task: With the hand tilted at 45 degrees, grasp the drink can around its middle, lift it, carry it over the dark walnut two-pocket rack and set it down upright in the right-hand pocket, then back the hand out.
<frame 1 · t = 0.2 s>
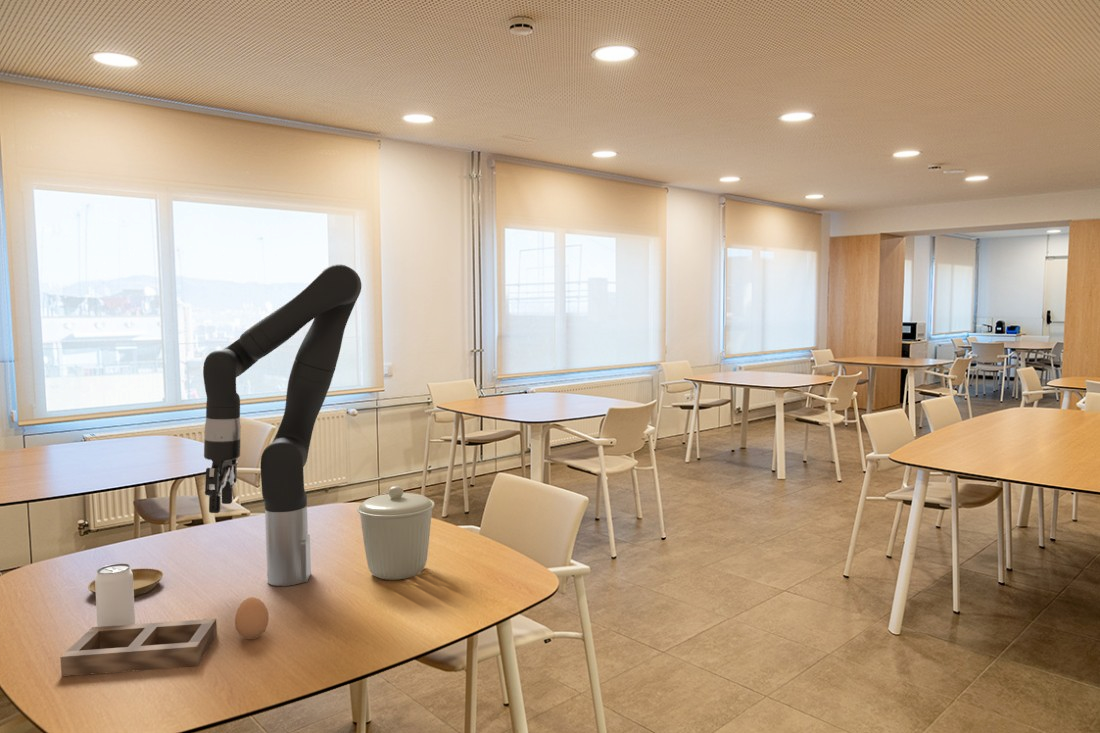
hand: (220, 507, 167), 18 cm above the table, tool pointing down, fingers open, 8 cm apart
canister: (397, 573, 175), on the table
can: (116, 628, 146), on the table
rack: (143, 655, 133), on the table
plant saucer: (127, 591, 165), on the table
egg: (252, 639, 140), on the table
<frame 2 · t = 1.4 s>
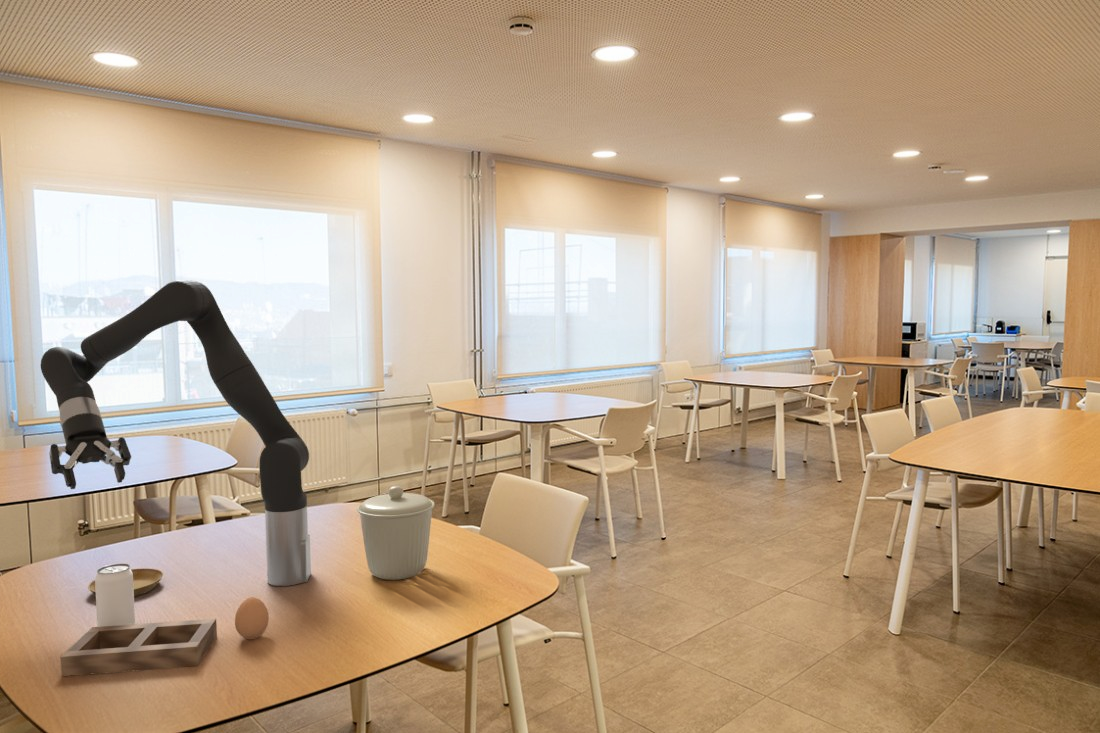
hand: (97, 483, 152), 27 cm above the table, tool tilted 45°, fingers open, 8 cm apart
nothing on the table moved.
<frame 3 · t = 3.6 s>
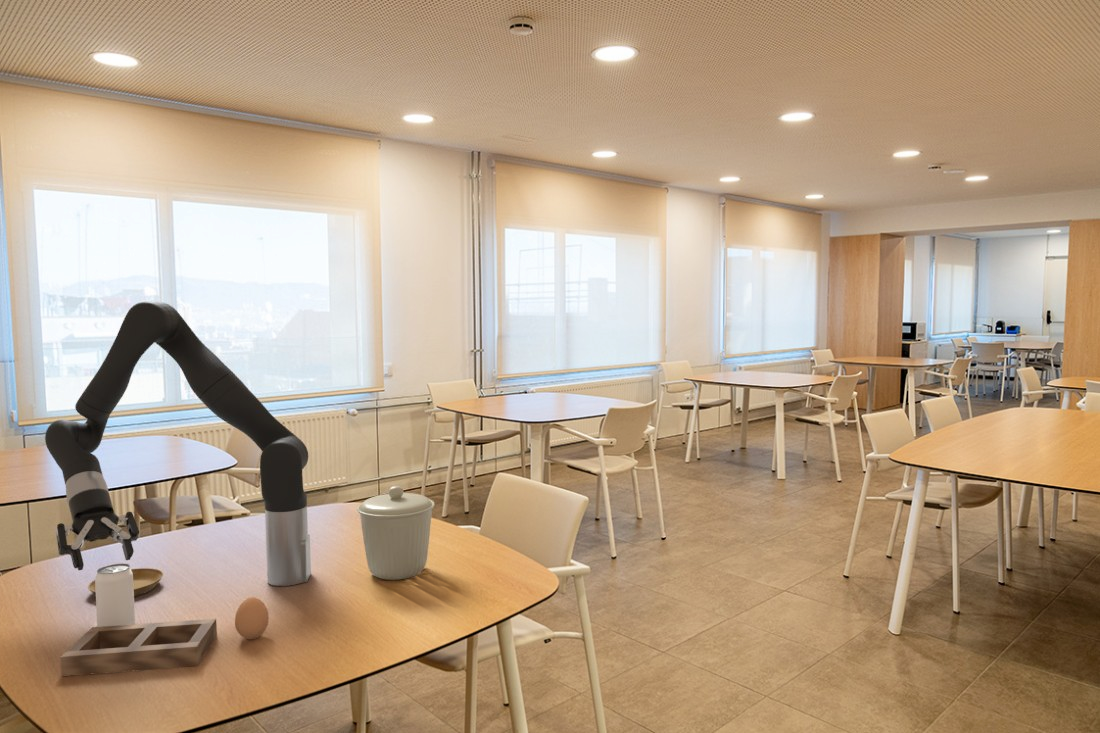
hand: (105, 563, 149), 12 cm above the table, tool tilted 45°, fingers open, 8 cm apart
nothing on the table moved.
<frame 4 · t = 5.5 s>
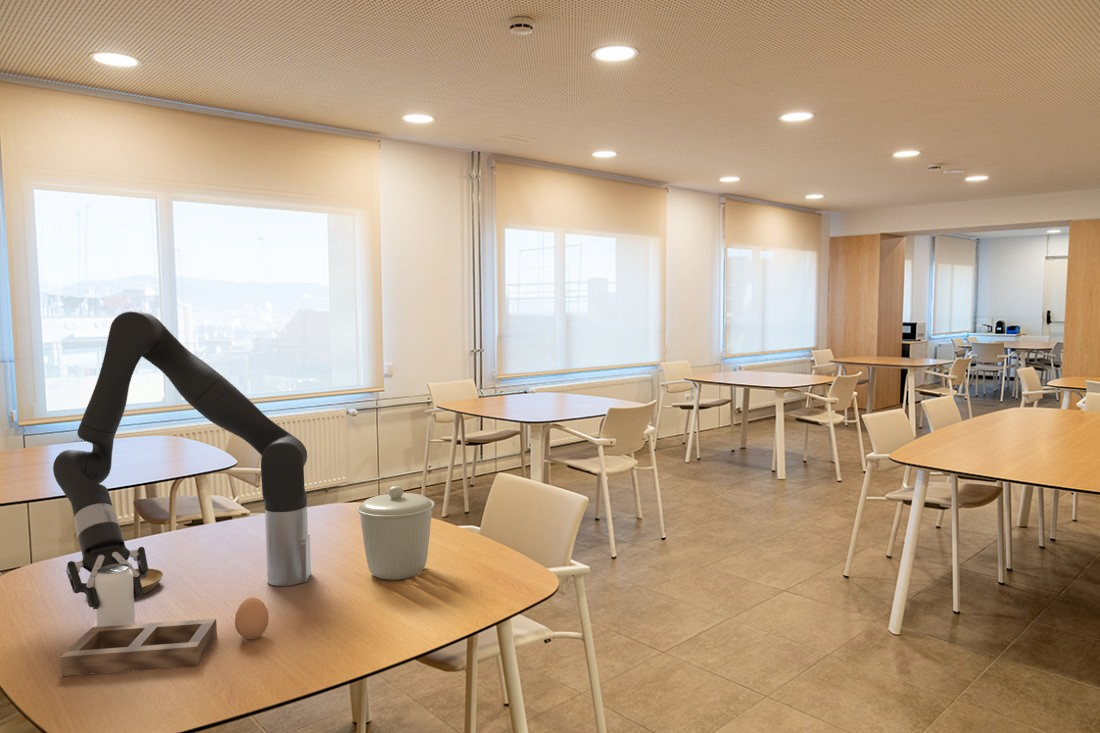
hand: (117, 601, 144), 6 cm above the table, tool tilted 45°, fingers open, 6 cm apart
can: (116, 628, 146), on the table, touching gripper
everything else where it was.
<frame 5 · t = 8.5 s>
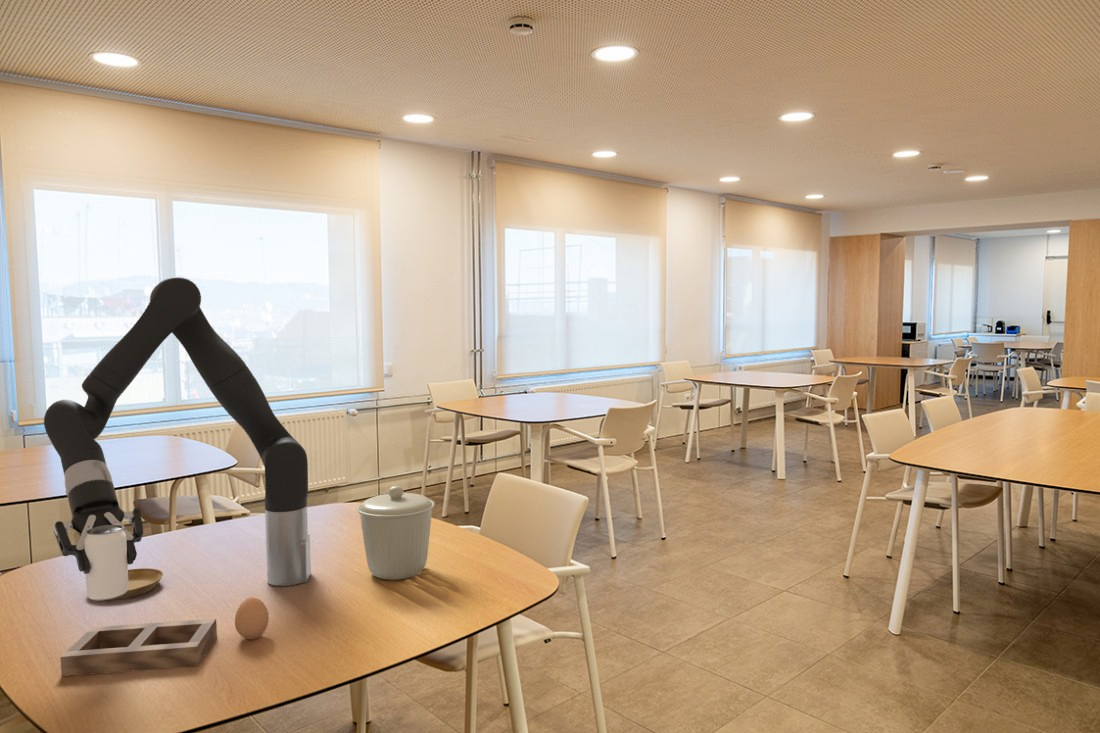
hand: (109, 566, 131), 17 cm above the table, tool tilted 45°, fingers closed on can, 6 cm apart
can: (108, 595, 132), point 11 cm above the table, touching gripper
everything else where it was.
when the fingers open (7 cm above the table, at t = 11.0 s): can drops 1 cm, resting in rack.
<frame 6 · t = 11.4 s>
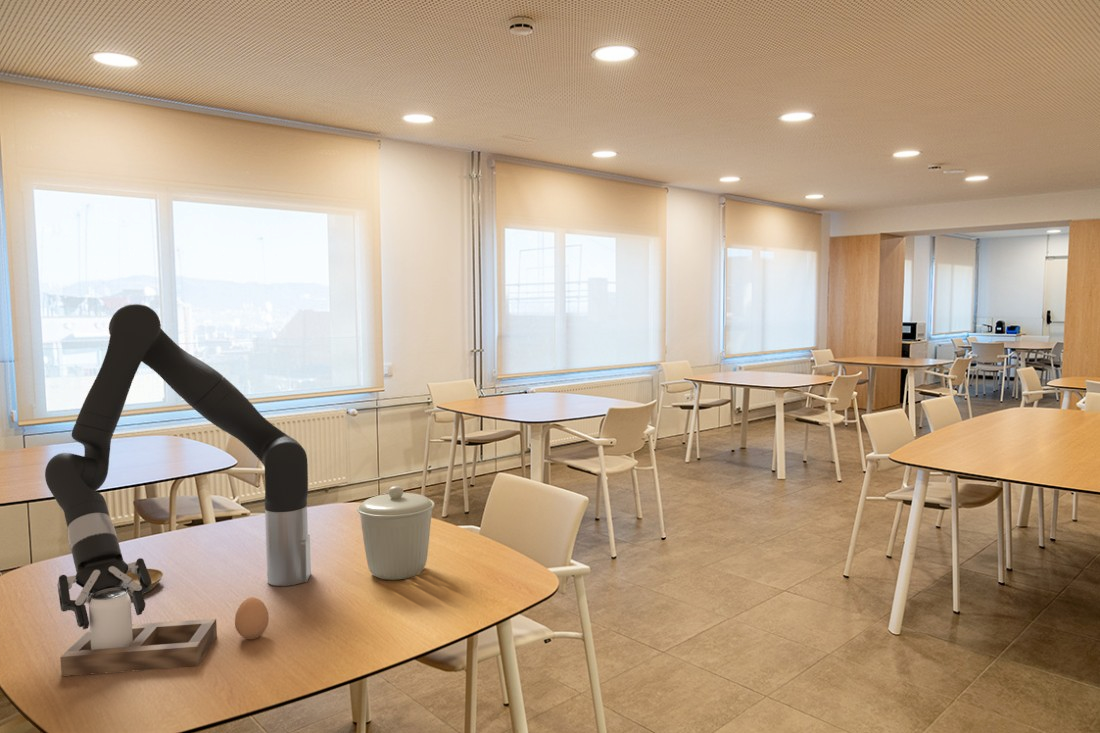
hand: (114, 619, 131), 7 cm above the table, tool tilted 45°, fingers open, 8 cm apart
can: (112, 658, 133), resting in rack
everything else where it was.
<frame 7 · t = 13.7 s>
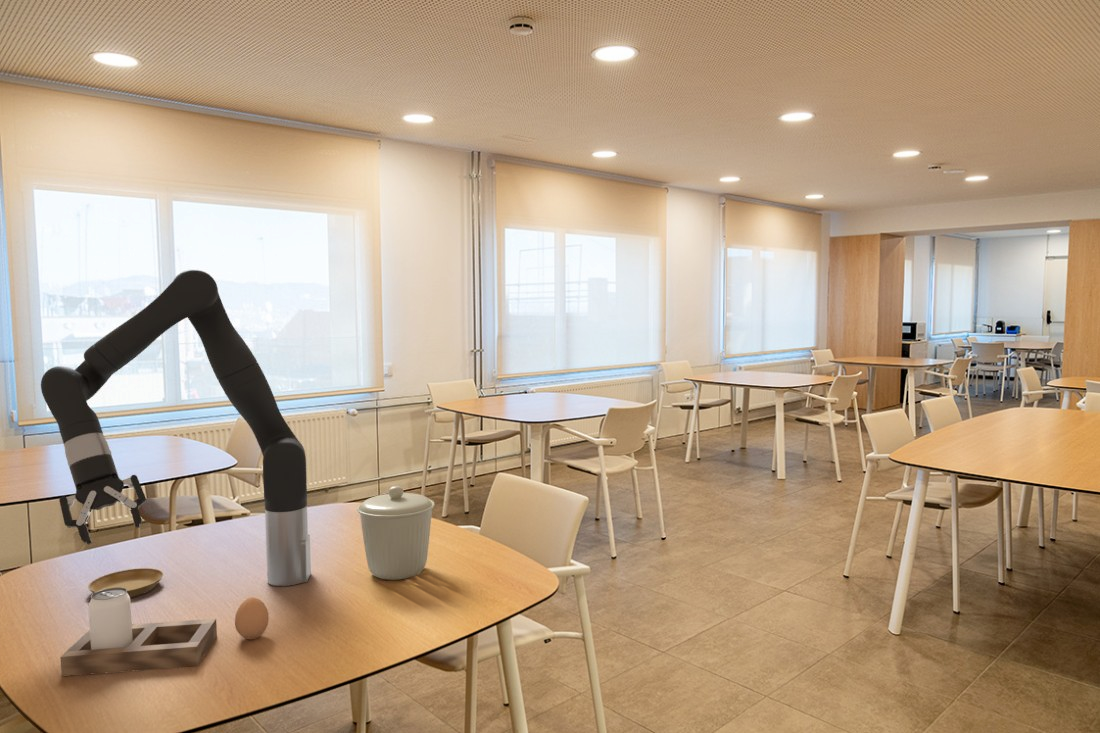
hand: (114, 535, 145), 18 cm above the table, tool tilted 25°, fingers open, 8 cm apart
nothing on the table moved.
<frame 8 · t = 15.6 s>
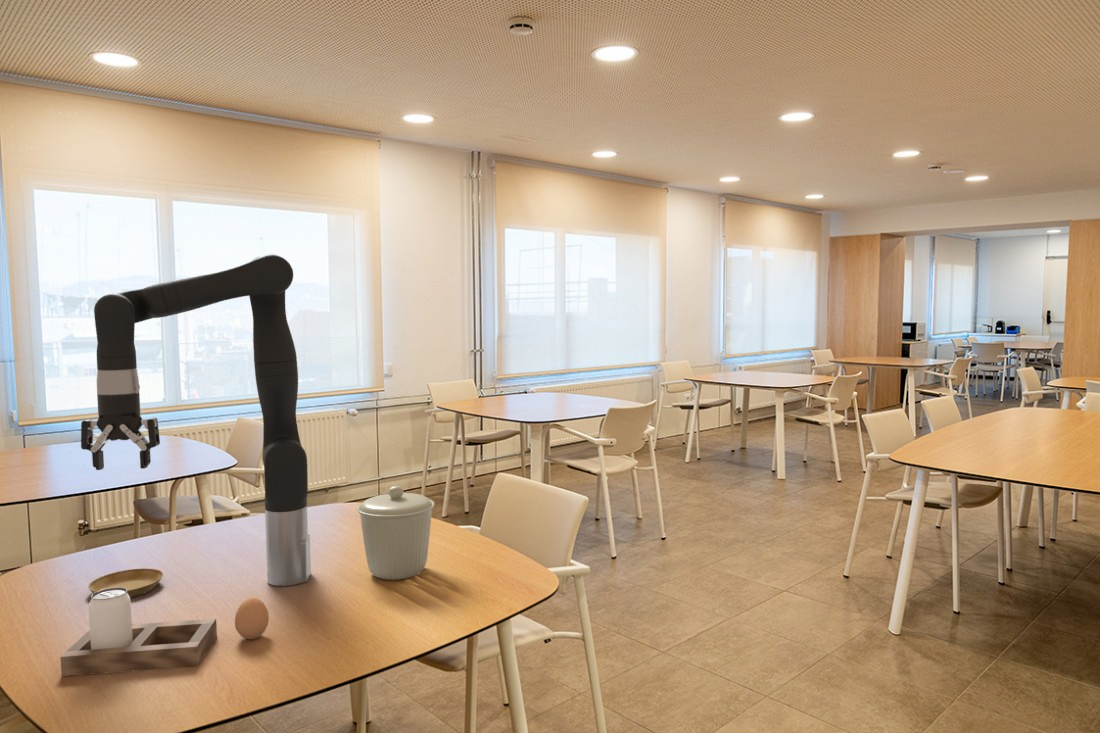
hand: (122, 468, 152), 30 cm above the table, tool pointing down, fingers open, 8 cm apart
nothing on the table moved.
at the end: can 0.3 cm from the target spot on the rack, point 0.0 cm above the rack's base; can tilted 0°; the gripper is holding nothing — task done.
